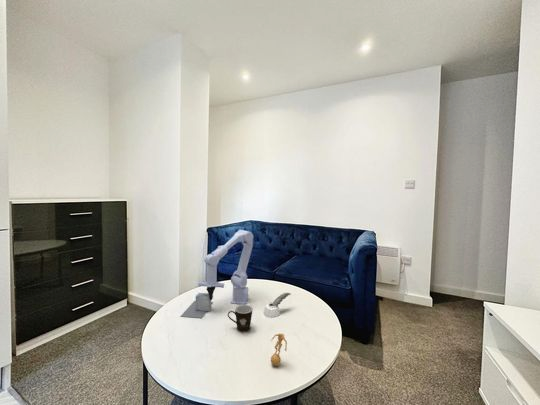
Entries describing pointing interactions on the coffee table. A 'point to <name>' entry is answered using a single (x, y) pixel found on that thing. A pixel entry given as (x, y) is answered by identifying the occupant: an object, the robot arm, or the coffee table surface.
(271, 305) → the inkwell
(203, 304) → the medicine box
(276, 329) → the coffee table surface
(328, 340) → the coffee table surface
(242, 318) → the coffee mug
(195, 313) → the mat
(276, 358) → the figurine
